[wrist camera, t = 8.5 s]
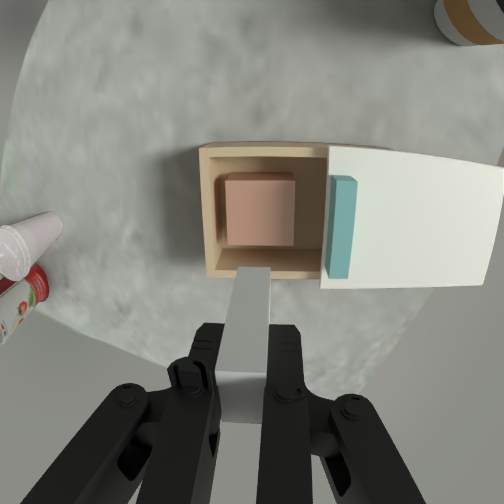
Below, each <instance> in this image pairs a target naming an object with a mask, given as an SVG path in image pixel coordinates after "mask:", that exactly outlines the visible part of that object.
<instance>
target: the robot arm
mask: <svg viewBox="0 0 504 504" xmlns="http://www.w3.org/2000/svg"><path fill="white" fill-rule="evenodd" d="M270 273H271V267H238V269H237V273H236V278H235V282H234V286H233V291H232V295H231V300H230V304H229V309H228V313H227V318H226V322H225V324H220V323H204V324H203V325H202V326H201V327H200V328H199V329H198V330H197V331H196V334H195V337H194V341H193V343H192V346H191V349H190V352H189V356H188V357H183V358H180V359H177V360H175V361H174V362H173V363H171V364H170V366H169V367H168V369H167V371H168V375H169V379H170V382H171V386H172V387H170V388H168V389H164V390H160V391H152V392H146V391H145V389H144V388H143V387H141V386H140V385H138V384H133V383H127V384H122V385H119V386H117V387H116V388H115V389H113V390H112V391H111V392H110V393H109V395H108V396H107V397H106V398H105V399H104V401H103V402H102V403H101V404H100V406H99V407H98V408H97V409H96V410H95V412H94V413H93V414H92V415H91V417H90V418H89V419H88V420H87V421H86V423H85V424H84V425H83V426H82V428H81V429H80V430H79V431H78V432H77V433H76V435H75V436H74V437H73V438H72V440H71V441H70V442H69V443H68V445H67V446H66V447H65V448H64V449H63V451H62V452H61V453H60V454H59V456H58V457H57V458H56V459H55V461H54V462H53V463H52V464H51V466H50V467H49V468H48V469H47V470H46V472H45V473H44V474H43V475H42V477H41V478H40V479H39V481H38V482H37V483H36V484H35V485H34V487H33V488H32V489H31V491H30V492H29V493H28V494H27V496H26V497H25V498H24V499H23V501H22V502H21V503H20V504H128V502H129V500H130V499H131V497H132V496H133V494H134V492H135V491H136V489H137V488H138V486H139V485H140V483H141V481H142V480H143V481H142V484H141V488H140V491H139V494H138V497H137V501H136V504H209V502H210V495H211V490H212V484H213V477H214V471H215V465H216V459H217V452H218V446H219V440H220V427H219V425H220V419H222V422H233V423H252V424H262V428H261V429H262V430H261V443H260V457H259V458H260V459H259V471H258V485H257V497H256V504H313V498H312V497H313V496H312V469H311V468H312V467H311V454H313V455H317V456H319V457H320V460H321V463H322V465H323V468H324V471H325V473H326V476H327V479H328V481H329V484H330V487H331V490H332V492H333V495H334V498H335V500H336V503H337V504H426V503H425V501H424V499H423V497H422V495H421V493H420V491H419V489H418V487H417V485H416V484H415V482H414V480H413V478H412V476H411V474H410V472H409V470H408V469H407V467H406V465H405V463H404V461H403V459H402V457H401V456H400V454H399V452H398V450H397V448H396V446H395V444H394V443H393V441H392V439H391V437H390V435H389V434H388V432H387V430H386V428H385V426H384V425H383V423H382V421H381V419H380V417H379V416H378V414H377V412H376V410H375V408H374V406H373V405H372V403H371V402H370V401H369V400H368V399H367V398H364V397H363V396H361V395H357V394H345V395H342V396H340V397H338V398H337V399H336V400H335V401H333V400H329V399H325V398H321V397H318V396H316V395H314V394H313V393H311V392H310V391H309V390H308V389H307V387H306V385H305V382H304V373H303V359H302V347H301V335H300V332H299V331H298V329H297V328H296V326H295V325H277V324H269V322H270Z"/></svg>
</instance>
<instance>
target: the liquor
mask: <svg viewBox="0 0 504 504" xmlns="http://www.w3.org/2000/svg"><path fill="white" fill-rule="evenodd" d="M48 295H49V286H48V281H47V277H46V275H45V273H44V271H43V270H42V269H41V268H40V267H39V266H38V265H36V264H33V265H32V266H31V267H30V271H29V273H28V274H27V276H26V277H24V278H22V279H21V280H19V281H12V280H9V279H8V278H6V277H4V278H2V279H1V280H0V348H1V346H2V345H3V344H4V342H5V341H6V340H7V339H8V337H9V336H10V335H11V333H12V332H13V331H14V330H15V329H16V327H17V326H18V325H19V324H20V323H21V321H22V320H23V319H24V318H25V317H26V316H27V315H28V314H29V312H30V311H31V310H32V309H33V308H34V307H35V306H36V305H37V304H38V303H39V302H43V301H45V300H46V299H47V297H48Z"/></svg>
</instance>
